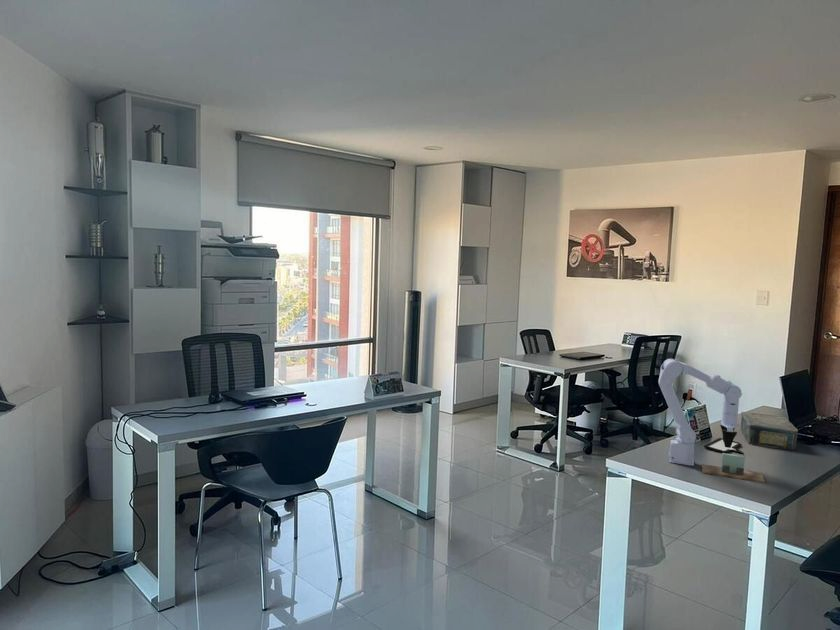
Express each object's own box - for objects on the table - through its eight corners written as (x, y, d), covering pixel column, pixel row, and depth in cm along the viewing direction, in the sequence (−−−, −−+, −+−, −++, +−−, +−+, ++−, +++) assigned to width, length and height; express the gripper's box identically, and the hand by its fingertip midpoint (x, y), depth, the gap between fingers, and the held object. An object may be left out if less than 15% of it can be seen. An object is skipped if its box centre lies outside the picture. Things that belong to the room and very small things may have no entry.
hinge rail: (702, 472, 243) (703, 464, 243) (701, 465, 252) (702, 457, 252) (764, 483, 235) (765, 474, 234) (761, 475, 244) (762, 467, 243)
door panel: (721, 470, 244) (722, 454, 244) (720, 469, 246) (722, 452, 245) (743, 474, 241) (744, 457, 240) (742, 473, 243) (744, 456, 242)
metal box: (746, 444, 290) (748, 424, 289) (738, 429, 320) (740, 410, 319) (797, 452, 282) (799, 431, 281) (784, 435, 312) (786, 416, 311)
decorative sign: (753, 450, 283) (719, 440, 294) (754, 446, 283) (720, 437, 293) (737, 459, 267) (702, 449, 278) (738, 455, 267) (703, 445, 277)
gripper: (742, 418, 242) (739, 451, 243) (739, 410, 255) (736, 442, 257) (723, 415, 245) (719, 448, 246) (720, 408, 258) (717, 439, 259)
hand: (726, 444), depth 251 cm, fingers open, 7 cm apart
